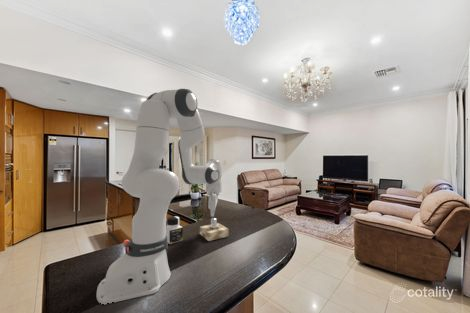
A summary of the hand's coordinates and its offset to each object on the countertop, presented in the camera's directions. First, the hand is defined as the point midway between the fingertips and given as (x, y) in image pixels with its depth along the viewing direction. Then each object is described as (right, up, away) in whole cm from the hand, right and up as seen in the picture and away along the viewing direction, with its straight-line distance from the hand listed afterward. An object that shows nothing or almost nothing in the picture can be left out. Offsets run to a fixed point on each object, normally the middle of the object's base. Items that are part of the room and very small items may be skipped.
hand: (213, 213), depth 110 cm
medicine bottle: (-20, -12, -7) cm, 24 cm away
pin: (0, -12, 0) cm, 12 cm away
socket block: (0, -12, 0) cm, 12 cm away
